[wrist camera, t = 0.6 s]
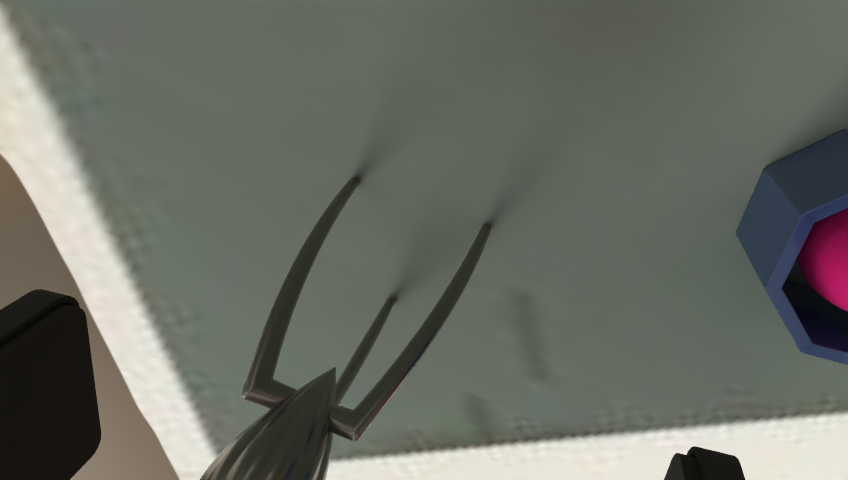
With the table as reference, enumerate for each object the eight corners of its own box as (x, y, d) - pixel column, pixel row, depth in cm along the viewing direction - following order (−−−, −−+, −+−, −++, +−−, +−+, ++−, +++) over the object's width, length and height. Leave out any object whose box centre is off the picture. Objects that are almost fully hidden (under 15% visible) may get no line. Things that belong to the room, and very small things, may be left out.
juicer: (493, 227, 47) (380, 595, 21) (391, 306, 52) (192, 685, 25) (403, 129, 46) (154, 391, 19) (305, 219, 50) (-1, 528, 24)
